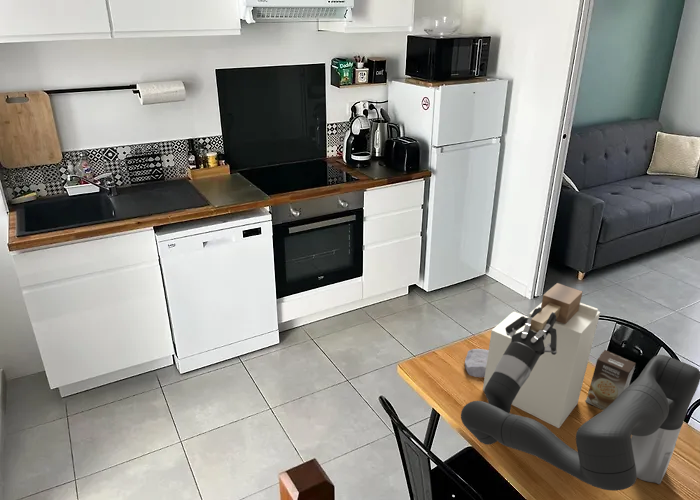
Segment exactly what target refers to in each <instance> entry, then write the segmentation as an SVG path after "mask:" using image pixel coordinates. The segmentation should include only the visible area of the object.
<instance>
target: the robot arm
mask: <svg viewBox="0 0 700 500" xmlns="http://www.w3.org/2000/svg"><path fill="white" fill-rule="evenodd" d="M535 308H536V307H535ZM535 308H534V309H535ZM534 309H533V310H534ZM533 310H532V311H533ZM541 310H542V308H541V307H538V309H537V308H536V309H535V310H534V311H533V313H532V315H531V316H530V317H529V316H528V317H529V318H525V317H524V316H525V315H524V316H522V317H520V318H519V319H517V320H516V321H514V322H513V323H512V324H510V325H509V326H507V327H506V328H505V329H506V334H507V335H508V336H510V337H511V343H510V344H509V346H508V347H507V349H506V351H505V352H504V354H503V356H502V357H501V359H500V361H499V362H498V364H497V366H496V369H495V371H494V373H493V375H492V376H491V378H490V380H489V381H488V383H487V385H486V387H485V389H484V390H483V392H484V396H485V397H486V399H487V402H486V401H482V400H473V401H470V402H468V403H466V404H465V405H464V406H463V407H462V409H461V412H460V420H461V423H462V424H463V426H464V427H465V428H466V429H467V430H468V431H469V432H470V434H471V435H473V436H474V437H475V438H476V439H477V440H478V441H479V442H480V443H481V444H483V445H487V446H488V445H493V444H495V443H497V442H498V443H499V444H501V445H503V446H505V447H508V448H510V449H514V450H516V451H520V452H523V453H526V454H529V455H532V456H534V457H537V458H539V459H541V460H542V461H545V462H546V463H548V464H549V465H551V466H553V467H556V468H557V469H559V470H561V471H563V473H564V472H565V473H566V474H568V475H570V476H572V477H574V478H576V479H578V480H580V481H582V482H584V483H586V484H587V485H590V486H592V487H595V488H597V489H601V490H606V491H612V492H613V491H622V490H627V489H628V488H630V487H633V485H635V484H636V482H637V479H639V480H642V481H643V482H644V481H645V482H648V483H655V484H658V485H661V483H662V481H663V479H664V477H665V475H666V473H667V471H668V467H669V464H670V461H671V459H672V456H673V453H674V451H675V448H676V445H677V441H678V438H679V434H680V432H681V430H682V427H683V424H684V420H685V418H686V416H687V413H688V409H689V407H690V405H691V403H692V401H693V397H694V396H695V394H696V391H697V390H698V387H699V385H700V369H699V368H697V367H695V366H693V365H691V364H689V363H686V362H683V361H681V360H678V359H676V358H674V357H671V356H668V355H665V354H656V355H655V356H653V357H652V358H650V360H649V361H648V362H647V364H646V365H645V367H644V368H643V370H642V371H641V372H640V374H638V377H637V378H636V379H634V381H633V382H631V383H630V384H629V386H628V387H627V388H626V389H625V390H624V391H623V392H622V393H621V394H620V395H619V396H618V397H617V398H616V399H615V400H614V401H613V402H612V403H611V404H610V405H609V406H608V407H607V408H606V409H604V410H602V411H601V412H599V413H597V414H596V415H595V416H594V415H593V417H591V418H590V419H588V420H587V421H585V422H583V424H582V425H580V427H579V428H578V429H577V431H576V434H575V444H576V449H573V448H572V447H571V446H569V445H568V444H566V443H565V442H564V441H563V440H561V439H560V438H559V437H558V436H557V435H556V434H555V433H553V432H552V431H551V430H550V429H549V428H548V427H547V426H545V425H544V424H543V423H541V422H539V421H537V420H536V419H533V418H531V417H526V416H522V415H519V414H514V413H511V409H512V406H513V405H512V402H513V400H514V399H515V397H516V395H517V393H518V392H519V390H520V388H521V387H522V385H523V384H524V383H525V382H526V380H527V378H528V377H529V376H530V373H531V371H532V369H533V368H534V366H535V364H536V362H537V361H538V359H539V357H540V356H541V355H542V354H544V353H545V352H551V353H552V354H553V355H555V354H556V353H557V333H556V329H554V328H552V327H553V326H554V324H555V322H556V315H555V313H554V312H552V313H551V315H550V317H549V319H548V320H547V322H546V325H545V326H544V327H543V329H540V330H539V332H538V333H537V332H533V331H532V330H530V328H531V325H530V324H531V319H532V318H533V317H534V316H535V315H536V314H538V313H539V312H540V311H541ZM524 325H525V327H524V330H523V331H521V332H519V333H516V331H517V330H519V329H520V328H521V327H523V326H524ZM515 333H516V334H515ZM548 334H550V335H551V343H549V344H548V345H547V347H544V342H543V341H544V340H545V339H546V337H547V335H548Z"/></svg>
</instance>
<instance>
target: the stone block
mask: <svg viewBox="0 0 700 500" xmlns="http://www.w3.org/2000/svg"><path fill="white" fill-rule="evenodd" d="M488 351H489V349H485V348H484V349H483V348H472V349H470V350H467V354H466V356H465V361H464V366H465V370H466V372H467V374H468V375H469V376H471V377H475V378H485V371H486V365H487V358H488Z"/></svg>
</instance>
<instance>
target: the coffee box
mask: <svg viewBox="0 0 700 500" xmlns="http://www.w3.org/2000/svg"><path fill="white" fill-rule="evenodd" d="M636 364H637V363H636V362H634V361H632V360H629V359H627V358H624V357H623V356H621V355H618V354H616V353H614V352H611V351H609V350H606V349H604V350H603V351H602V353H601V354H600V355H599V357H598V358H597V360H596V363H595V368H594V370H593V375H592V378H591V381H590V385H589V388H588V392H587V396H586V399H585V402H586V403H587V404H589V405H592V406H593V407H595V408H598V409H600V410H602V411H603V410H604V409H606V408H607V407H608V406H609V405H610V404H611V403H612V402H613V401H614V400H615V399H616V398H617V397H618V396H619V395H620V394H621V393H622V392H623V391H624V390H625V389H626V388H627V387H628V386H629V385H631V380H632V377H633V374H634V371H635V367H636Z"/></svg>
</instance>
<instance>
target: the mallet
mask: <svg viewBox="0 0 700 500" xmlns="http://www.w3.org/2000/svg"><path fill="white" fill-rule="evenodd" d="M582 296H583V291H582V290H578V289H576V288H573V287H570V286H566V285H564V284H562V283H559V282H557V283H556V284H554V285H553V286H552V287H550V289H548V290H547V291H546V292H544V294H543V296H542V300H541V303H542V304H541V303H540V304H541V308H542V310H541V311H540V312H539V313H538V314H536V315H535V316H534V317H533V318H532V319H531V324H530V325H531V328H530V330H533V331H535V332H539V330H540V329H543V327H544V326H545V325H546V322H547V320H548V319H549V317H550V315H551V313H552V312H554V313H555V315H556V321H558V322H561V323H564V324H566V323H567V322H568V321H569V320H570V319H571V318H572V317H573V316H574V315H575V314H576V313H577V312H578V310H579V305H580V303H581V301H582Z"/></svg>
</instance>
